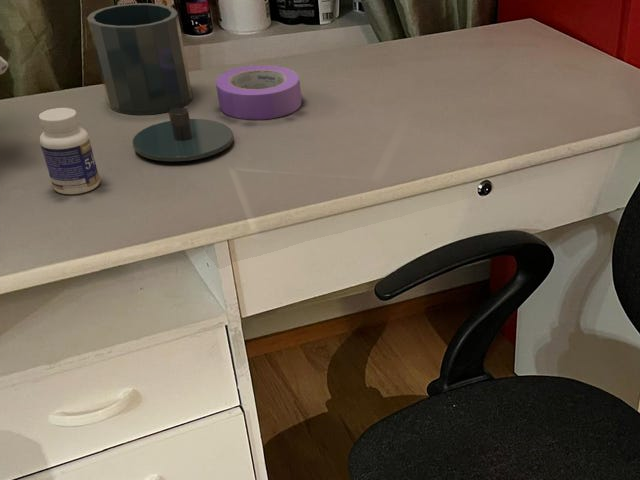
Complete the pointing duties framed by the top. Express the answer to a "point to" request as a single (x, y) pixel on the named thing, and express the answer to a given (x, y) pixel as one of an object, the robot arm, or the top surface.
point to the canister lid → (182, 138)
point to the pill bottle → (67, 152)
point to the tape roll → (259, 92)
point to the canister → (141, 58)
